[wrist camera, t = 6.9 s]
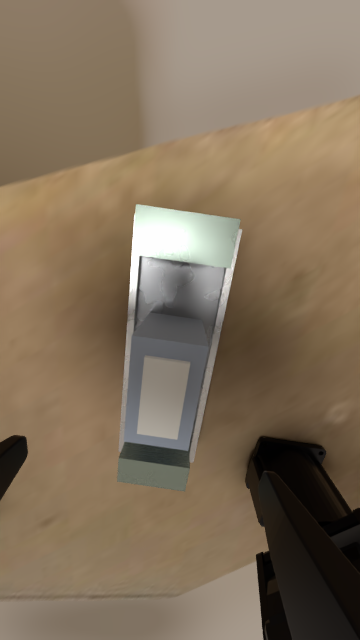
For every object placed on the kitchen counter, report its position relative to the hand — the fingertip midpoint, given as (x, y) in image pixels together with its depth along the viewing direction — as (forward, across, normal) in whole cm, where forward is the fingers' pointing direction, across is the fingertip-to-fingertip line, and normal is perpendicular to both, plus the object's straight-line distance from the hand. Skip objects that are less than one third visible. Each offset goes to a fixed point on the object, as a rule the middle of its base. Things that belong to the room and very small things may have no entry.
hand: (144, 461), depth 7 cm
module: (+9, 0, 0) cm, 9 cm away
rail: (+10, 0, 0) cm, 10 cm away
